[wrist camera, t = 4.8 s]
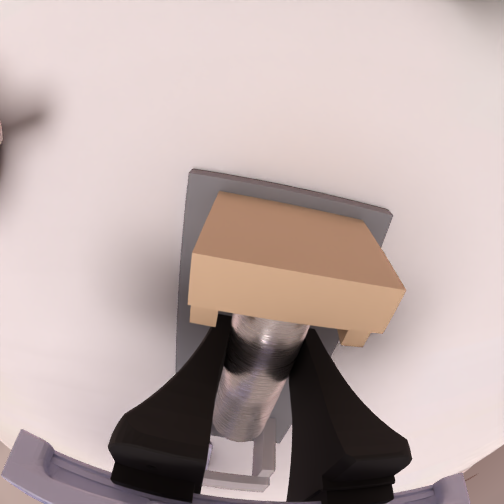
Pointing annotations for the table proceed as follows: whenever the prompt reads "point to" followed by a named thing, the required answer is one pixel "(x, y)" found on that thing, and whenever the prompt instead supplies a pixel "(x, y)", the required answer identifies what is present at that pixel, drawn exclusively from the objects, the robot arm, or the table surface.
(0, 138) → the cup
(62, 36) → the table surface
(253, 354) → the tube
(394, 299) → the board
